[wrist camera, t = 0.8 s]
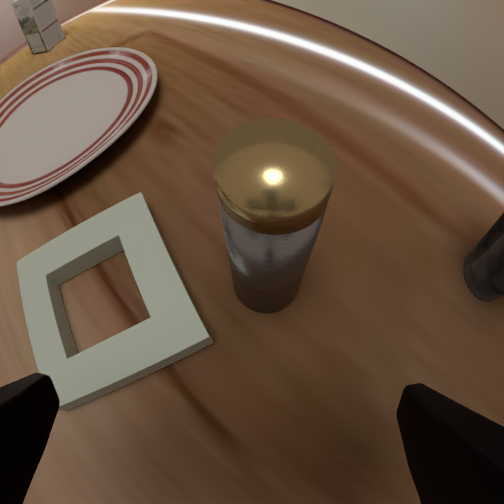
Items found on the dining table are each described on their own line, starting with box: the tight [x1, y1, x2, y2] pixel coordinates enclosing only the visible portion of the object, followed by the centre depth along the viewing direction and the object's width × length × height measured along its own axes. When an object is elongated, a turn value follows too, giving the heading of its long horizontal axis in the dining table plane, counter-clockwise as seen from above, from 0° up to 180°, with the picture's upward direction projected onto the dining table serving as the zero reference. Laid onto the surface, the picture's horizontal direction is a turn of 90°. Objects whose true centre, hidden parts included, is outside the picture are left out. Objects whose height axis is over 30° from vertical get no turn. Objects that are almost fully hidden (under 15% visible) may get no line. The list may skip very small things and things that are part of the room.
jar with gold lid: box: [213, 118, 338, 313], centre depth 16 cm, size 4×4×12 cm
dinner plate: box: [0, 47, 158, 207], centre depth 29 cm, size 27×27×3 cm
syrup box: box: [12, 0, 65, 54], centre depth 37 cm, size 6×6×14 cm
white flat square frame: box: [17, 192, 214, 411], centre depth 20 cm, size 12×12×2 cm
